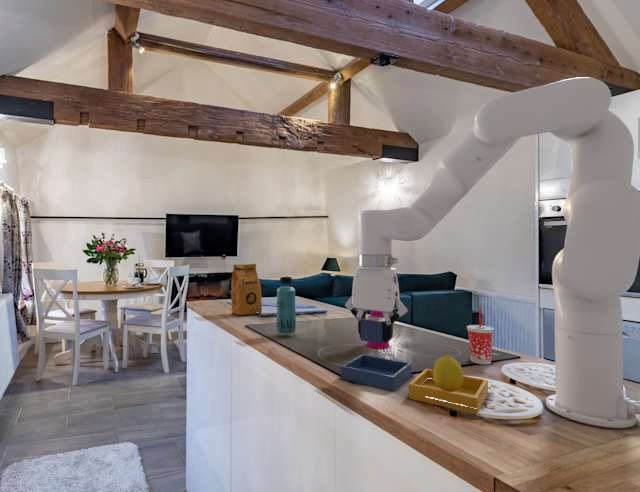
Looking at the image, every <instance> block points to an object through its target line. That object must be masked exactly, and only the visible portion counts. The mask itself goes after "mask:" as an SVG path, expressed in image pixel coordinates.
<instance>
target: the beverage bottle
mask: <svg viewBox="0 0 640 492" xmlns="http://www.w3.org/2000/svg"><path fill="white" fill-rule="evenodd" d="M279 283H280V284H282V286H279V287H278V288H277V289H276V331H277V333H279V334H288V335H289V334H294V333H296V329H297V325H296V323H297V321H296V320H297V315H296V314H297V312H296V311H297V310H296V289H295V288H294V287H293V286H289V284H293V278H292V276H281V277H280V278H279ZM287 284H288V286H287ZM285 285H286V286H285Z"/></svg>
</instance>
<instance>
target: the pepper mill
mask: <svg viewBox="0 0 640 492" xmlns="http://www.w3.org/2000/svg"><path fill="white" fill-rule="evenodd" d="M369 316H374V317H382V318H384V316H383V312H380V311H372V310H370V315H369ZM366 344H367V347H369V348H373V349H379V350H381V349H387V348H389V347H390V341H388V342H384V343H382V344H380V343H374V342H368V341H366Z"/></svg>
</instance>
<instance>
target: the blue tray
mask: <svg viewBox="0 0 640 492" xmlns="http://www.w3.org/2000/svg"><path fill="white" fill-rule="evenodd" d="M411 377H412V363H411V362H407V361H401V360H394V359H391V358H384V357H380V356H373V355H368V354H363V353H361V354H360V355H358V356H356V357H355V358H352V359H351V360H349V361H347V362H346V363H344V364H343V365H341V366H340V379H341V380H343V381H348V382H352V383H357V384H361V385H366V386H370V387H374V388H378V389H383V390H387V391H391V392H394V391H396V390H397V389H398V388H400V386H402V384H404V383H405V382H406V381H407V380H408V379H410V378H411Z"/></svg>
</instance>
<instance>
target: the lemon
mask: <svg viewBox="0 0 640 492" xmlns="http://www.w3.org/2000/svg"><path fill="white" fill-rule="evenodd" d="M432 370H433V376H434V381H435V383H436V384H437V386H438V387H439V388H440V389H442V390H444V391H449V392H454V391H457V390H458V389H459V388H460V387H461V385H462V383H463V376H464V372H463V367H462V365H461V364H460V363H459V361H458V360H457V359H456V358H454V357H451V355H448V354H446V355H445V356H441V357H439V358H438V359H437V360H436V361H435V363H434V364H433V368H432Z"/></svg>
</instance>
